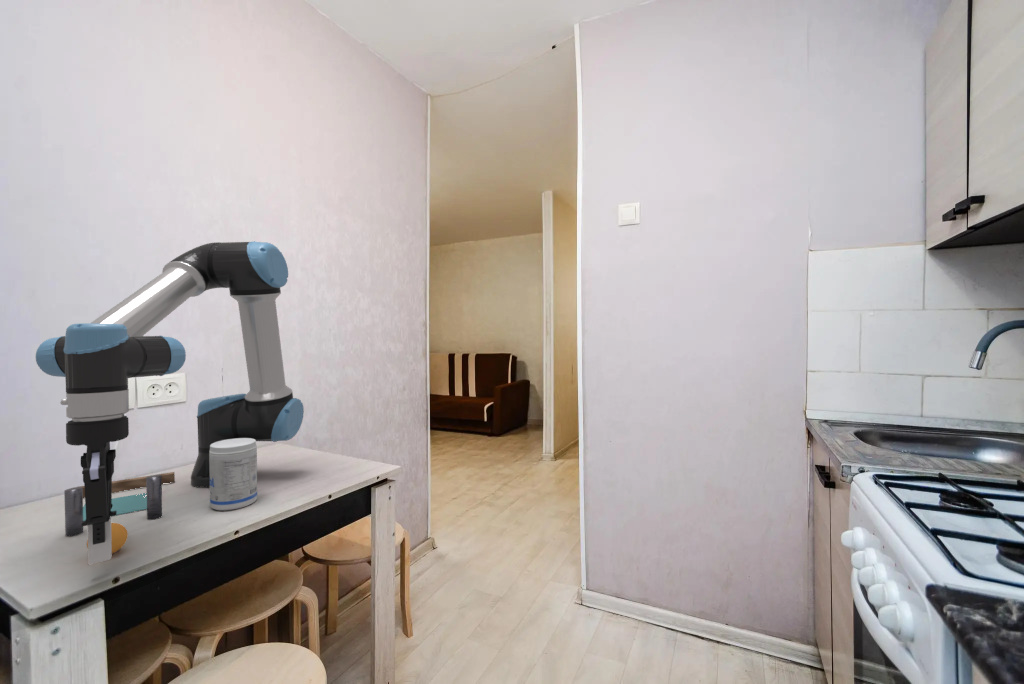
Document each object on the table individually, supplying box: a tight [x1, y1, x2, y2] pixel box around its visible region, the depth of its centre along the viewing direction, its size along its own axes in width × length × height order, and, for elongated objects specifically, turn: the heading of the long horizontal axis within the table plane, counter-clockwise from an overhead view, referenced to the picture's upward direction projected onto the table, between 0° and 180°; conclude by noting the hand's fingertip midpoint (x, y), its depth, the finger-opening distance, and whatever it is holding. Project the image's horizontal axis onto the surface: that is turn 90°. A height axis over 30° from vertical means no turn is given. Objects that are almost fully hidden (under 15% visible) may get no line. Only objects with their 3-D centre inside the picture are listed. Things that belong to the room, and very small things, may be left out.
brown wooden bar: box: [73, 471, 176, 497], centre depth 115 cm, size 20×2×2 cm, turn 128°
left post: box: [63, 486, 84, 538], centre depth 89 cm, size 3×3×9 cm
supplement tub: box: [209, 438, 258, 511], centre depth 104 cm, size 10×10×15 cm
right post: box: [145, 474, 163, 520], centre depth 97 cm, size 3×3×9 cm
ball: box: [86, 522, 129, 555], centre depth 80 cm, size 6×6×6 cm
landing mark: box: [83, 492, 147, 521], centre depth 104 cm, size 14×14×1 cm
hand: (100, 560), depth 73 cm, fingers closed
